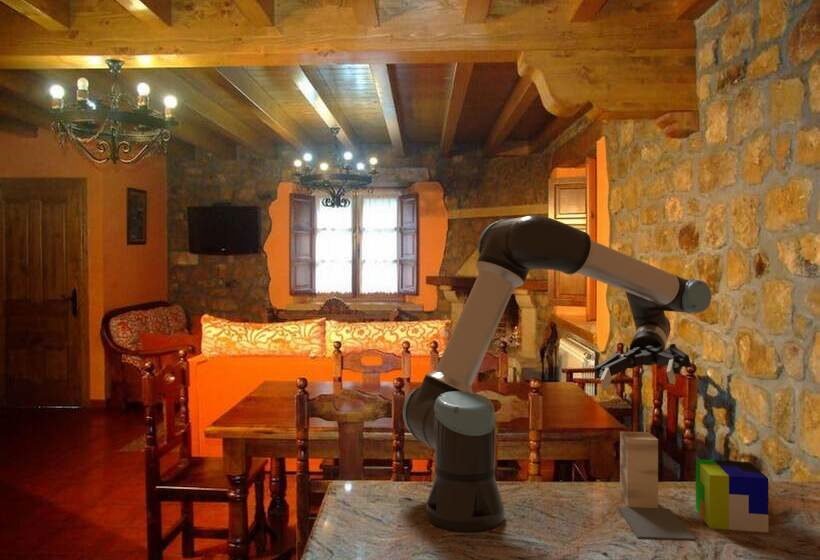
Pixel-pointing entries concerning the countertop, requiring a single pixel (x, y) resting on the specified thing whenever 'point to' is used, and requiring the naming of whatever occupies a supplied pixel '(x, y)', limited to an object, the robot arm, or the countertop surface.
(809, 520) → the countertop surface
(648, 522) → the rubber mat
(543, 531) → the countertop surface
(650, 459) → the beech block
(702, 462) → the puzzle toy
